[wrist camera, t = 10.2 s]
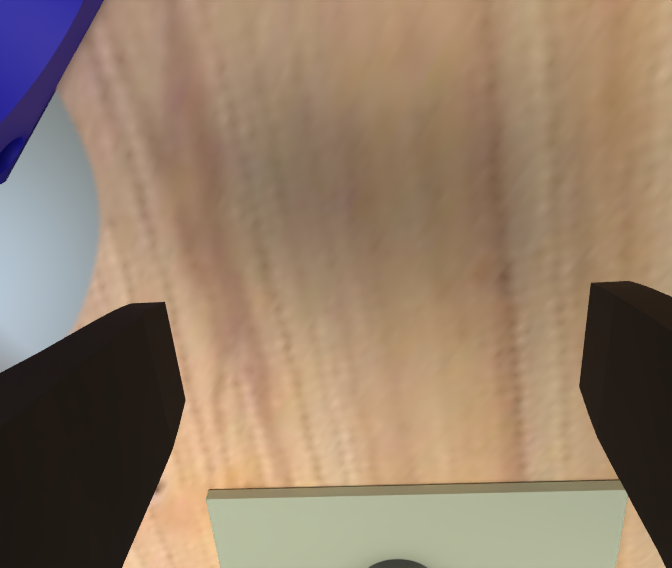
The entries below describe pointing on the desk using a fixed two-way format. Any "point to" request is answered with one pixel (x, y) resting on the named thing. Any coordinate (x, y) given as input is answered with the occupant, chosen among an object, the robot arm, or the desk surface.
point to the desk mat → (421, 525)
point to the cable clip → (34, 64)
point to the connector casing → (397, 564)
